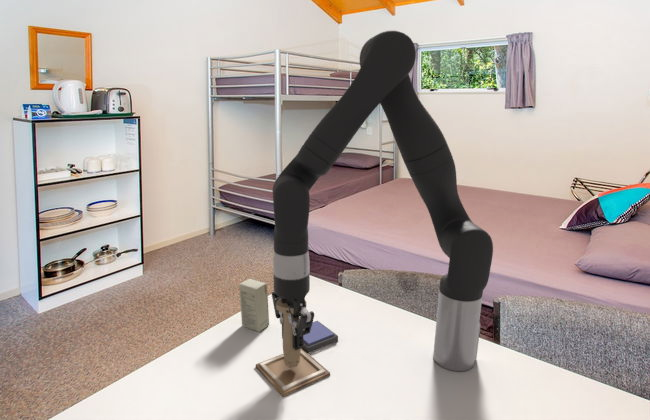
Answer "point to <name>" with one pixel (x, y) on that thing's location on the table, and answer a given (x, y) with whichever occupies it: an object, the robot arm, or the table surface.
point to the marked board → (292, 373)
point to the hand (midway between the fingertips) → (292, 343)
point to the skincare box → (254, 304)
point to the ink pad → (318, 337)
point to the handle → (288, 337)
